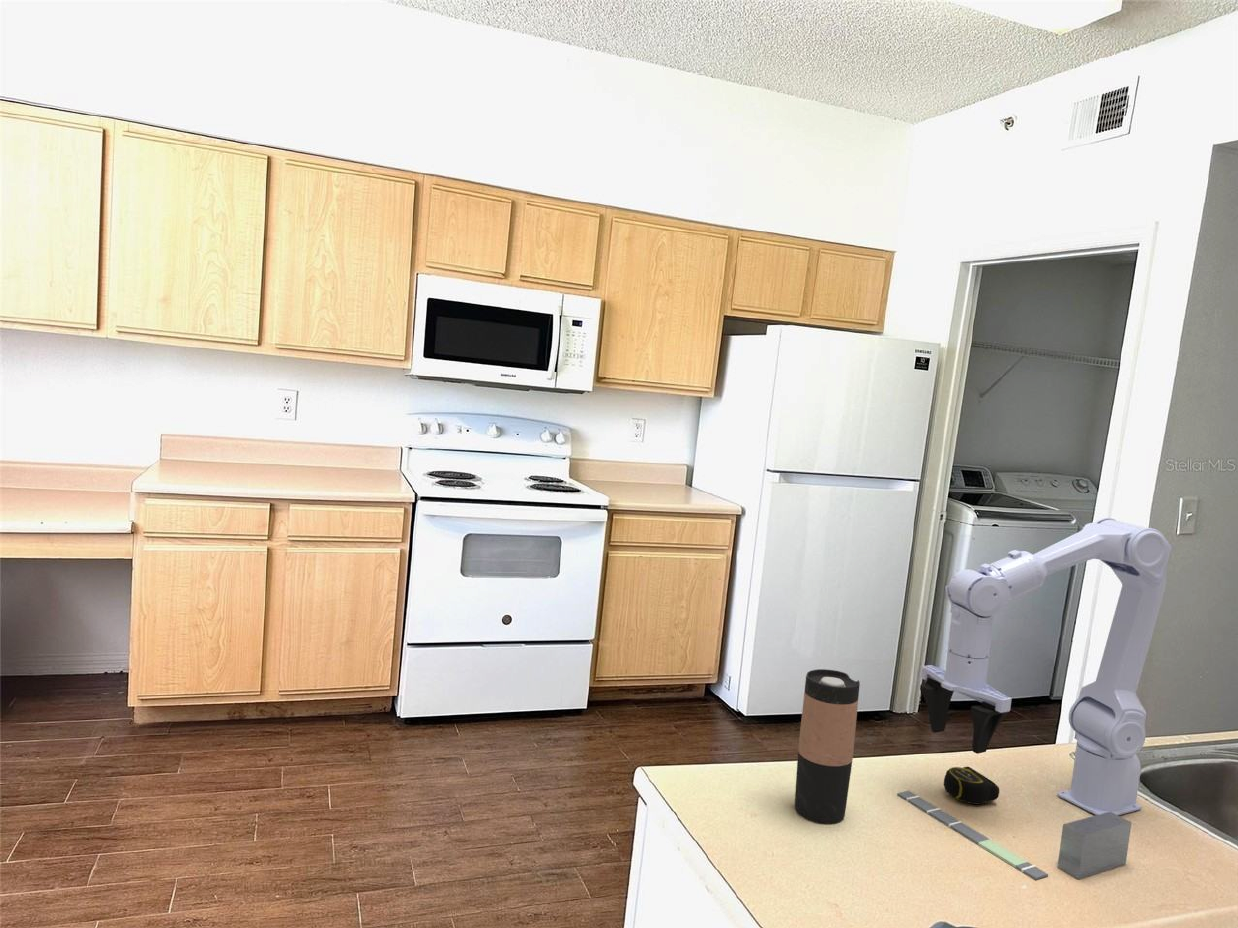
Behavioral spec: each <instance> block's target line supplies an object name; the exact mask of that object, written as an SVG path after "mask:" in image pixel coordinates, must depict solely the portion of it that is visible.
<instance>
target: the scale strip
mask: <svg viewBox="0 0 1238 928" xmlns="http://www.w3.org/2000/svg"><path fill="white" fill-rule="evenodd" d="M896 794H897V796H898V797H900V798H901V799H903V800H905V801H906V802H908V803H909V804H911V805H912V806H914V807H916V808H918V809H920V810H921V811H923V812H924V813H926V814H927V815H929V816H930V817H933V818H934V819H935V820H937V821H938V822H940V823H942V824H944V825H946V826H947V827H948V828H949V829H952V830H953V831H955V832H957V833H958V834H960V835H962V836H964V837H965V838H966V839H968V840H969V841H971V842H973V843H975V844H976V845H978V846H979V847H981V848H982V849H984V850H986V851H987V852H989V853H991V854H992V855H994V856H995V857H997V858H999V859H1000V860H1001V861H1004V862H1005V863H1006V864H1008V865H1010V866H1011V867H1014V868H1015V869H1017V870H1018V871H1019V872H1021V873H1023V874H1025V875H1026V876H1028V877H1030V878H1032V879H1033V880H1035V881H1038V880H1040V879H1044V878H1047V877H1049V874H1048V873H1047V872H1045V871H1044V870H1042V869H1040V868H1038V867H1037V866H1036V865H1035V864H1032V863H1031V862H1029V861H1027V860H1026V859H1024V858H1023V857H1021V856H1019V855H1018V854H1015V852H1013V851H1011V850H1010V849H1008V848H1006V847H1004V845H1003V846H1002V845H1001V844H999V843H998V842H996V841H994V840H993V839H990V838H988V837H987V836H985V835H984V834H982V833H980V832H978V831H977V830H975V829H974V828H972V827H970V826H969V825H968V824H965V823H964V822H962V821H961V820H959V819H957V818H955V817H954V816H952V815H950V814H949V813H947V812H945V811H944V810H942V809H941V808H940V807H937V806H935V805H933V804H932V803H930V802H929V801H927V800H925V799H924V798H922V797H921V796H920V795H917V794H915V793H914V792H912V791H911V790H905V791H900V792H897V793H896Z"/></svg>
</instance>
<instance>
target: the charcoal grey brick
mask: <svg viewBox="0 0 1238 928" xmlns="http://www.w3.org/2000/svg"><path fill="white" fill-rule="evenodd" d="M1131 829H1132V821H1131V820H1128V819H1126V818H1123V817H1122V816H1121V815H1116V814H1114V813H1112V812H1107V813H1103V814H1099V815H1093V816H1089V817H1085V818H1081V819H1078V820H1074V821H1071V822H1067V823H1063V824H1062V830H1061V838H1060V846H1059V854H1058V858H1057V860H1058V861H1057V868H1058V869H1059V870H1062V871H1063V872H1065V873H1066V874H1068V875H1070V876H1071V877H1073V878H1075V879H1077V880H1082V879H1085V878H1087V877H1091V876H1094V875H1097V874H1101V873H1103V872H1107V871H1109V870H1113V869H1116V868H1119V867H1122V866H1125V865H1126V864H1127V858H1128V850H1129V843H1130V836H1131V835H1130V834H1131Z"/></svg>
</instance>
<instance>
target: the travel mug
mask: <svg viewBox="0 0 1238 928" xmlns="http://www.w3.org/2000/svg"><path fill="white" fill-rule="evenodd" d="M804 683H805V684H804V691H803V692H804V693H803V702H802V710H801V721H800V729H799V740H798V746H797V747H798V749H797V760H796V761H797V762H796V776H795V777H796V778H795V792H794V793H795V794H794V809H795V812H796V813H797V815H799V817H802V818H803V819H805V820H807V821H810V822H812V823H815V824H822V825H836V824H838V823H841V822H842V821H843V820H844V818H845V816H846V810H847V803H848V795H849V789H850V780H851V773H852V767H853V759H854V750H855V749H854V747H855V738H856V727H857V716H858V705H859V695H860V686H861V684H860V680H859V679H858V680H857V681H856V680H853V679H852V678H851V677H850V676H849V674H848V673H846V672H843V671H839V670H835V669H826V668H825V669H821V668H820V669H813V670H810V671H808V672H807V673H806V674H805V681H804Z"/></svg>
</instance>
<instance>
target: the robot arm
mask: <svg viewBox="0 0 1238 928" xmlns="http://www.w3.org/2000/svg"><path fill="white" fill-rule="evenodd" d="M1171 552H1172V546H1171V545H1170V543H1169V542H1168V540H1167V539H1166V537H1165V536H1164V535H1163V533H1162V532H1160V530H1157V529H1155V528H1153V527H1152V528H1151V527H1144V526H1139V525H1136V524H1131V523H1128V522H1124V521H1120V520H1116V519H1115V518H1110V517H1103V518H1100V519H1098V520H1096V521H1095V522H1090V523H1086V524H1085V525H1084V526H1083V528H1082V529H1081V530H1080V531H1077V532H1075V533H1074V534H1071V535H1070V536H1068V537H1066V538H1063V539H1062V540H1059V541H1058V542H1056V543H1054V544H1052V545H1049V546H1047V547H1046V548H1043V549H1041V550H1040V551H1038V552H1036V553H1034V554H1033V553H1031V552H1029V551H1025V550H1021V551H1020V550H1017V549H1014V550H1011V551H1008V553H1007V555H1008V556H1006V557H1003V558H1001V559H999V560H997V561H994V562H991V563H983V564H981V565H979V568H978V569H977V570H973V569H969V568H968V569H963V570H960V571H958V572H956V573H955V575H954V574H953V577H952V578H951V579H950V581H949V584H948V585H946V586H945V595H946V597H947V599H948V601H949V602H950V610H949V611H950V613H951V617H950V625H949V633H948V634H949V635H948V641H947V650H946V651H947V652H946V660H945V669H944V668H940V667H937V666H935V665H931V664H928V665H922V667H921V673H920V678H921V679H922V680H924V681H925V683H921V684H920V686H919V690H920V692H921V694H922V696H923V698H924V701H925V705H926V708H927V711H928V715H929V723H930V730H931V732H932V733H933V734H937V733H941V732H942V733H943V732H944V731H945V729H946V727H947V726H946V725H947V721H948V712H949V707H950V704H951V700H952V697H953V695H954V692H955V693H956V692H957V693H958V694H961V695H963V696H965V697H968V698H969V699H972V700H975V701H977V702H979V703H981V704H977V705H973V706H970V711H971V716H972V723H973V724H972V726H973V736H972V743H971V744H972V752H973V753H974V754H982V753H986V752H987V750H988V747H989V745H990V742H991V740H992V738H993V736H994V734H995V732H996V730H997V729H998V727H999V725H1000V724H1001V723H1002V722H1003V720H1004V719H1005V718H1006V716H1008V714H1009V712H1011V708H1012V707H1011V706H1012V697H1009V696H1007V695H1005V694H1004V693H1002V692H1000V691H999V690H997V689H996V688H994V687H992V685H990V684H987V676H988V669H989V663H990V662H989V660H990V650H991V644H992V643H991V642H992V634H993V628H994V627H993V626H994V619H995V618H994V617H995V615H998V614H999V613H1000V612H1001V611H1002V609H1003V608H1004V607H1005V605H1006V603H1007V602H1009V601H1011V600H1013V599H1015V598H1017V597H1019V596H1022V595H1024V594H1027V593H1028V592H1032V591H1033V590H1036V589H1038V588H1040V587H1042V586H1043V584H1044V583H1045V579H1046V577H1047V576H1048V575H1051V574H1054V573H1056V572H1059V571H1062V570H1065V569H1068V568H1071V567H1074V566H1076V565H1079V564H1080V565H1081V564H1083V563H1084V562H1085V563H1086V562H1088V561H1090V560H1093V559H1094V560H1100V561H1101V562H1103V563H1104V564H1105V565H1106V566H1108V567H1110V569H1111V570H1112V572H1113V573H1114V575H1116V577H1117V578H1118V580H1119V581H1120V583H1121V584H1122V585H1121V589H1120V592H1119V597H1118V600H1117V602H1116V607H1115V611H1114V614H1113V617H1112V620H1111V626H1110V629H1109V632H1108V634H1107V635H1108V636H1107V639H1106V642H1105V647H1104V649H1103V653H1102V657H1101V660H1100V664H1099V668H1098V672H1097V675H1096V679H1095V681H1093V682H1091V683H1088V684H1086V685H1084V686H1082V687H1081V689H1080V692H1079V695H1078V698H1077V699H1076V700H1075V701H1074V703H1073V704H1071V707H1070V709H1069V712H1068V723H1069V726H1070V728H1071V729H1072V730H1073V731H1074V739H1075V740H1076V746H1075V755H1074V759H1073V760H1074V761H1073V769H1072V777H1071V784H1070V789H1065V790H1062V791H1058V792H1057V793H1056V794H1057V796H1058V797H1059V798H1061V799H1064V800H1065V801H1068V802H1069V803H1071V804H1074V805H1076V806H1077V807H1078V808H1081V809H1084V810H1085V811H1087V812H1089V813H1091V814H1093V815H1094V816H1096V815H1099V814H1103V813H1107V812H1112V813H1114V814H1116V815H1118V816H1121V815H1124V814H1127V813H1131V812H1135V811H1139V810H1141V809H1142V807H1143V806H1142V805H1141V804H1139V803H1137V798H1138V790H1139V783H1140V776H1141V768H1142V767H1141V762H1140V758H1139V757H1138V756H1137V754H1138V753H1139V752H1140V751H1141V750H1142V748H1143V746H1144V744H1145V741H1146V738H1147V737H1146V736H1147V735H1146V728H1145V724H1146V723H1145V722H1146V717H1147V715H1148V714H1147V712H1146V710H1145V708H1144V706H1143V705H1142V703H1141V701H1140V698H1138V696H1137V689H1138V686H1139V683H1140V680H1141V676H1142V673H1143V669H1144V665H1145V663H1146V659H1147V655H1148V651H1149V647H1150V645H1151V642H1152V637H1153V634H1154V632H1155V631H1154V630H1155V626H1156V624H1157V619H1158V616H1159V612H1160V609H1161V606H1162V602H1163V598H1164V595H1165V591H1166V588H1167V582H1168V576H1167V575H1168V573H1167V567H1168V562H1169V559H1170V556H1171Z"/></svg>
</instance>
